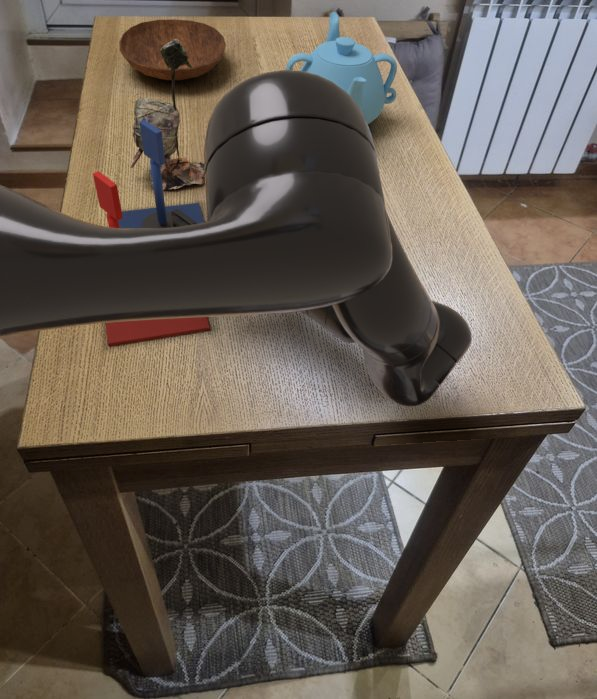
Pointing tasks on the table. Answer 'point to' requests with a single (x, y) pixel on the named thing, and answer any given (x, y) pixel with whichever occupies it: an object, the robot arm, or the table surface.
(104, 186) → the red paddle on stand
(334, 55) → the teapot
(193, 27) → the bowl
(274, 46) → the table surface
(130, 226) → the blue mat
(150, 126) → the blue signpost
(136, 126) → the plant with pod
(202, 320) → the red mat
